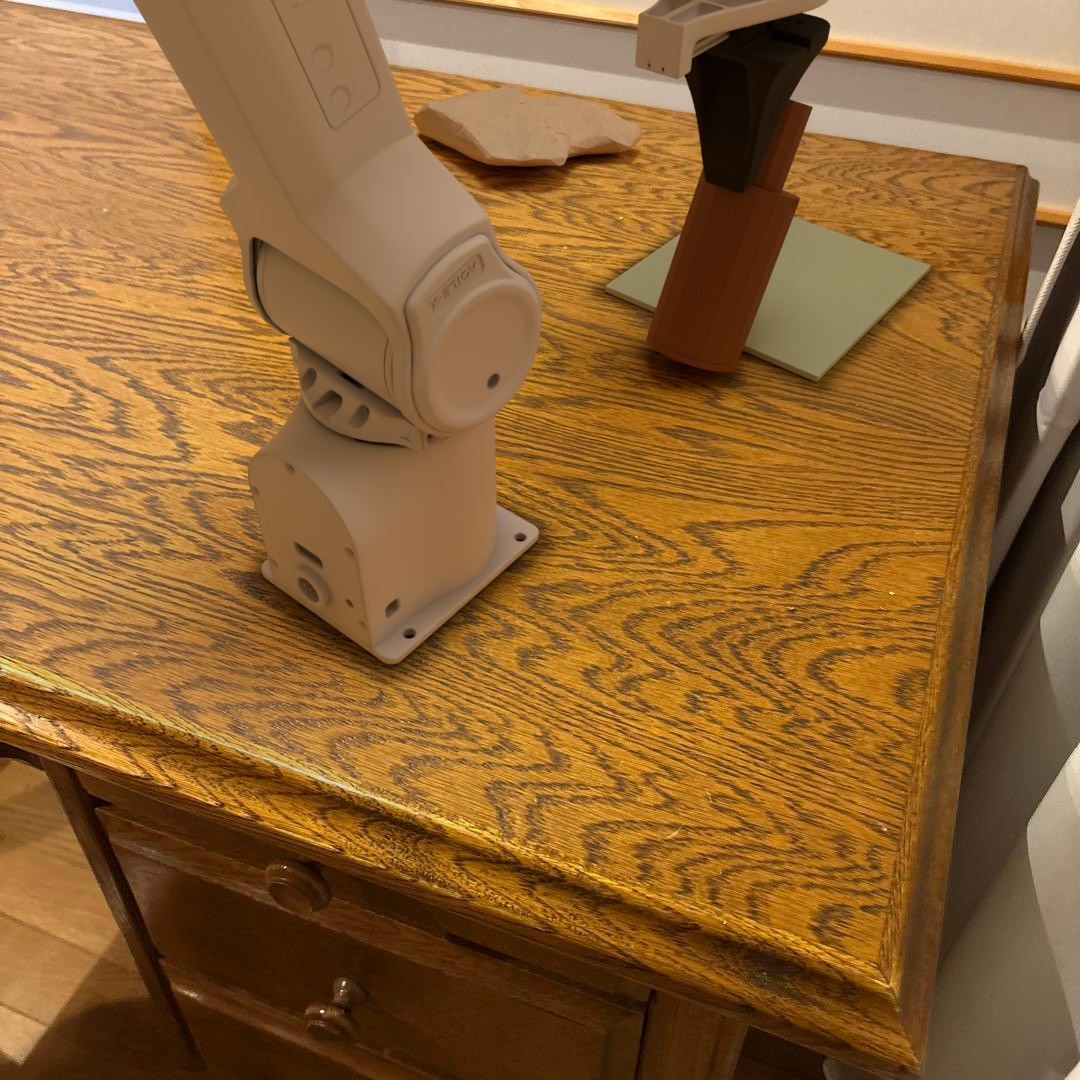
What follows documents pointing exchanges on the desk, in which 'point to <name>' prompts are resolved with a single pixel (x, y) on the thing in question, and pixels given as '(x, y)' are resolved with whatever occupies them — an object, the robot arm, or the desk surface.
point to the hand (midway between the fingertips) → (728, 183)
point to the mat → (802, 295)
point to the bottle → (727, 258)
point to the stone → (524, 127)
